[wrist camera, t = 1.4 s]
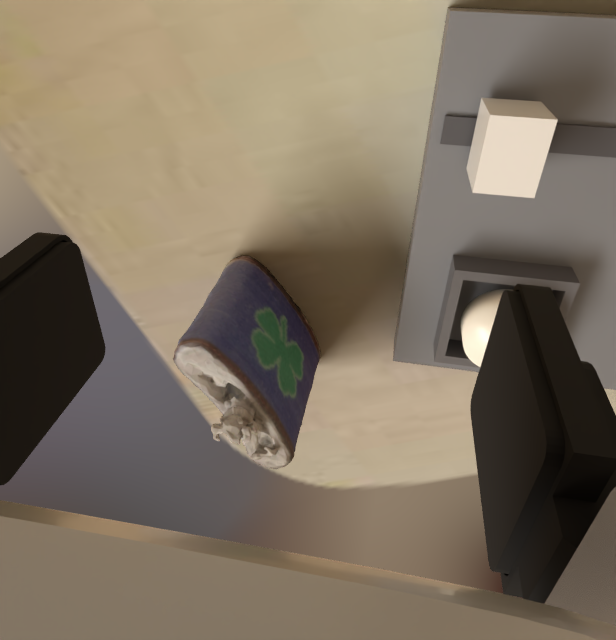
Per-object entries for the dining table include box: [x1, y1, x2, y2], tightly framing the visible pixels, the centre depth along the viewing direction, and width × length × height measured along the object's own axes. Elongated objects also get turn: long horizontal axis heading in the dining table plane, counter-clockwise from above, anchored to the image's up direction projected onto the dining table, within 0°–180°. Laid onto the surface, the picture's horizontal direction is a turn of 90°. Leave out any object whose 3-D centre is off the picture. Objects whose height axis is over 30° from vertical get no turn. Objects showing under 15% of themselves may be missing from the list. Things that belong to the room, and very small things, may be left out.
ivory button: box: [461, 289, 513, 367], centre depth 26 cm, size 4×4×2 cm
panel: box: [393, 7, 616, 390], centre depth 25 cm, size 18×17×4 cm
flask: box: [173, 256, 321, 469], centre depth 28 cm, size 9×3×11 cm, turn 30°
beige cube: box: [466, 98, 558, 198], centre depth 21 cm, size 3×2×3 cm
